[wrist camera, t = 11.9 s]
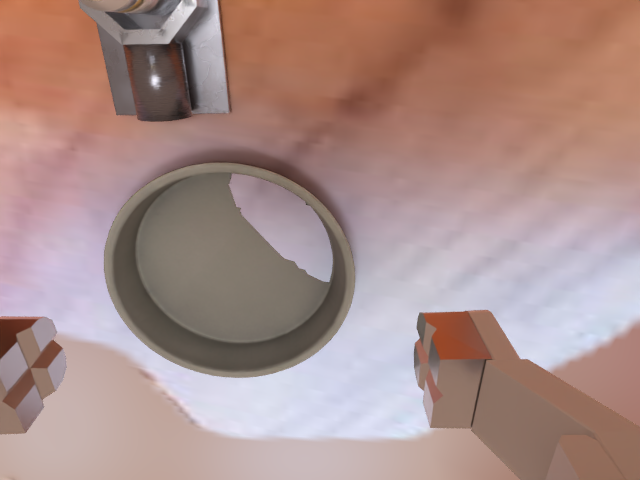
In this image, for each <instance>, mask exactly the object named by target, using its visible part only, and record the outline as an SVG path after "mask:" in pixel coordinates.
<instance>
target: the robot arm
mask: <svg viewBox="0 0 640 480" xmlns="http://www.w3.org/2000/svg"><path fill="white" fill-rule="evenodd" d="M417 330H418V333H419V337H420V339H419V340H418V341H417V342H416V343H415V348H414V369H415V375H416V379H417V383H418V386H419V387H420V388H421V389H422V390H424V396H423V405H424V408H425V412H426V415H427V418H428V422H429V425H430V428H472V430H471V431H472V432H473V433H474V434H475V435H477V436H478V437H479V439H480V440H481V441H482V442H483V443H484V444H485V445H486V446H487V447H488V448H489V449H490V450H491V451H492V452H493V453H494V454H495V455H496V456H497V457H498V458H499V459H500V460H501V461H502V462H503V463H504V464H505V465H506V466H507V467H508V468H509V469H510V470H511V471H512V472H513V473H514V474H515V475H516V476H517V477H518V478H519V479H520V480H640V427H639V426H638V425H636V424H634V423H633V422H631V421H629V420H628V419H626V418H624V417H623V416H621V415H619V414H618V413H616V412H614V411H613V410H611V409H609V408H608V407H606V406H604V405H602V404H601V403H599V402H598V401H596V400H594V399H593V398H591V397H589V396H588V395H586V394H584V393H583V392H581V391H579V390H578V389H576V388H574V387H573V386H571V385H569V384H568V383H566V382H564V381H563V380H561V379H560V378H558V377H556V376H555V375H553V374H551V373H550V372H548V371H546V370H545V369H543V368H541V367H540V366H538V365H536V364H535V363H533V362H531V361H530V360H528V359H520V358H519V356H518V354H517V353H516V351H515V349H514V348H513V346H512V345H511V343H510V341H509V340H508V338H507V337H506V335H505V333H504V332H503V330H502V329H501V327H500V325H499V324H498V322H497V321H496V319H495V317H494V316H493V314H492V313H491V312H490V311H488V310H474V311H465V312H421V313H419V316H418V321H417ZM56 334H57V330H56V328H55V325H54V323H53V321H52V320H51V319H49V318H47V317H6V316H2V317H0V434H19V433H26V432H27V430H28V429H29V427H30V426H31V425H32V423H33V422H34V421H35V419H36V418H37V416H38V415H39V414H40V412H41V411H42V409H43V408H44V404H43V399H44V398H45V397H47V396H48V395H50V394H52V393H53V392H55V391H56V390H57V388H58V387H59V385H60V384H61V382H62V381H63V378H64V374H65V370H66V356H65V353H64V350H63V348H62V347H61V346H60V345H58V344H57V343H56V342H55V341H54V338H55V336H56Z"/></svg>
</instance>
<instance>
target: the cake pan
mask: <svg viewBox="0 0 640 480" xmlns="http://www.w3.org/2000/svg"><path fill="white" fill-rule="evenodd" d="M231 173H236V174H243V175H249V176H254V177H257V178H261V179H264V180H267V181H270V182H272V183H275V184H277V185H279V186H281V187H284V188H285V189H287V190H289V191H291V192H293V193H294V194H296V195H297V196H299V197H300V198H301V199H303V200H304V201H305V202H306V205H309V206H311V207H312V208H313V210H314V211H315V212H316V213H317V215H318V216H319V218H320V219H321V221H322V223H323V225H324V227H325V229H326V231H327V233H328V236H329V239H330V243H331V248H332V253H333V267H332V274H331V278H330V282H323V281H321V280H318V279H316V278H314V277H312V276H310V275H308V274H307V273H306V271H305V270H303V269H299V268H298V266H297V265H296V264H295V262H293V261H290V260H287V259H284V258H283V257H282V256H281V255H280V254H279V253H278V252H277V251H276V250H275V249H274V248H273V247H272V246H271V245H270V244H269V243H268V242H267V241H266V240H265V239H264V238H263V237H262V236H261V235H260V234H259V233H258V232H257V231H256V230H255V229H254V228H253V226H252V225H251V224H250V223H249V222H248V221H247V220H246V219H245V218H244V217H243V216H242V215H241V212H240V209H241V208H238V207H236V204H235V201H234V199H233V196H232V193H231V190H230V187H229V185H228V184H229V182H230V179H231ZM104 273H105V279H106V284H107V288H108V291H109V294H110V297H111V299H112V302H113V304H114V306H115V308H116V310H117V312H118V313H119V315H120V317H121V318H122V320H123V321H124V322H125V324H126V325H127V326H128V328H129V329H130V330H131V331H132V332H133V333H134V334H135V335H136V336H137V337H138V338H139V339H140V340H141V341H142V342H143V343H144V344H145V345H146V346H148V347H149V348H150V349H152V350H153V351H155V352H156V353H157V354H159V355H161V356H162V357H164V358H166V359H167V360H169V361H171V362H173V363H175V364H178V365H180V366H182V367H185V368H187V369H190V370H193V371H196V372H200V373H204V374H208V375H213V376H220V377H233V378H244V377H257V376H263V375H268V374H272V373H276V372H279V371H282V370H285V369H288V368H290V367H293V366H295V365H297V364H299V363H301V362H303V361H305V360H306V359H308V358H310V357H311V356H313V355H314V354H315V353H317V352H318V351H319V350H320V349H321V348H323V347H324V346H325V345H326V344H327V343H328V342H329V341H330V340H331V339H332V338H333V336H334V335H335V334H336V333H337V331H338V330H339V328H340V327H341V325H342V323H343V321H344V320H345V318H346V315H347V313H348V311H349V308H350V306H351V303H352V298H353V294H354V287H355V268H354V262H353V257H352V252H351V249H350V246H349V244H348V241H347V239H346V237H345V235H344V233H343V231H342V229H341V227H340V226H339V224H338V222H337V221H336V219H335V218H334V217H333V215H332V214H331V213H330V212H329V210H328V209H327V208H326V207H325V206H324V205H323V204H322V203H321V202H320V201H319V200H318V199H317V198H316V197H315V196H314V195H312V194H311V193H310V192H308V191H307V190H306V189H305V188H303V187H301V186H300V185H298V184H297V183H295V182H293V181H291V180H289V179H288V178H286V177H283V176H281V175H279V174H277V173H274V172H271V171H269V170H266V169H262V168H258V167H254V166H250V165H244V164H238V163H203V164H197V165H191V166H186V167H183V168H180V169H177V170H174V171H172V172H169V173H167V174H164V175H162V176H160V177H158V178H156V179H155V180H153V181H151V182H150V183H148V184H147V185H146V186H144V187H142V188H141V189H140V190H139V191H138V192H136V193H135V194H134V195H133V196H132V197H131V198H130V199H129V200H128V201H127V202H126V203H125V205H124V206H123V207H122V209H121V210H120V211H119V213H118V215H117V216H116V218H115V220H114V221H113V224H112V226H111V229H110V231H109V234H108V238H107V241H106V245H105V250H104Z"/></svg>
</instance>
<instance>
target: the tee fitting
mask: <svg viewBox="0 0 640 480" xmlns="http://www.w3.org/2000/svg"><path fill="white" fill-rule="evenodd" d="M78 1H79V0H78ZM79 5H80V8H81V9H82V10H83V11H84V12H85V13H86V14H88V15H89V16H90V17H91V18H92V19H93V20H94V21H96V23H97V27H98V32H99V37H100V41H101V46H102V50H103V55H104V60H105V64H106V69H107V73H108V78H109V83H110V87H111V92H112V96H113V101H114V106H115V110H116V115H137V119H138V120H141V121H172V120H179V119H184V118H188V117H190V116H192V114H206V113H230V112H231V105H230V95H229V86H228V76H227V66H226V57H225V47H224V37H223V27H222V18H221V8H220V0H180V1H179V3H178V5H177V6H176V7H175V9H174V10H172V11H171V12H170V13H168V14H165V15H159V16H158V15H145V14H132V13H120V12H107V11H99V10H95V9H92V8H90V7H88V6H86V5H85V4H83V3H82V2H81V1H79Z"/></svg>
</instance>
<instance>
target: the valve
mask: <svg viewBox="0 0 640 480" xmlns="http://www.w3.org/2000/svg"><path fill="white" fill-rule="evenodd" d="M79 1H81V2H82V3H83V4H85V5H86V6H88V7H90V8H92V9H95V10H99V11H107V12H120V13H132V14H145V15H158V16H159V15H165V14H168V13H170V12H171V11H172V10H174V9H175V7H176V6H177V5H178V3H179V1H180V0H79Z"/></svg>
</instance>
